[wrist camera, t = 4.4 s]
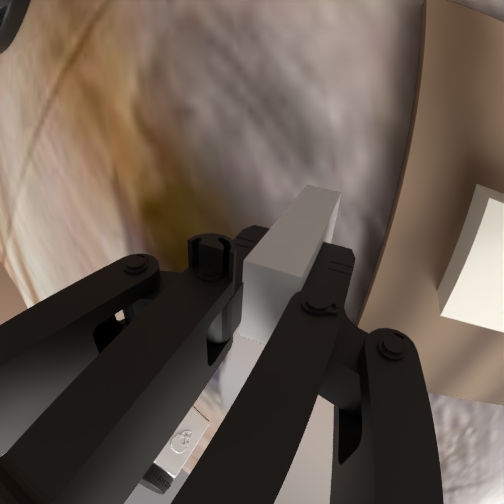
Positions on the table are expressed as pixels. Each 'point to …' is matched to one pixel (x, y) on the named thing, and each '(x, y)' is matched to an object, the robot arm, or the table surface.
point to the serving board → (444, 200)
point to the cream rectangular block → (477, 265)
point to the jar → (175, 452)
